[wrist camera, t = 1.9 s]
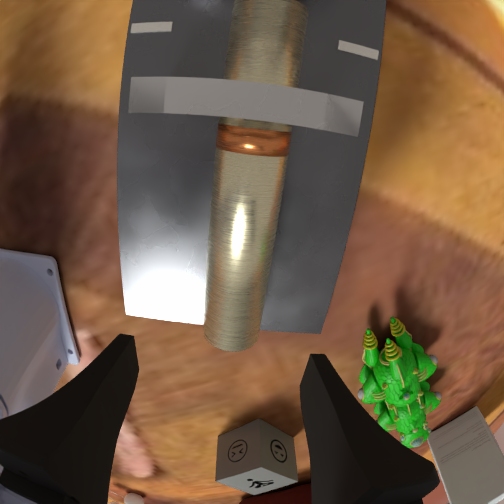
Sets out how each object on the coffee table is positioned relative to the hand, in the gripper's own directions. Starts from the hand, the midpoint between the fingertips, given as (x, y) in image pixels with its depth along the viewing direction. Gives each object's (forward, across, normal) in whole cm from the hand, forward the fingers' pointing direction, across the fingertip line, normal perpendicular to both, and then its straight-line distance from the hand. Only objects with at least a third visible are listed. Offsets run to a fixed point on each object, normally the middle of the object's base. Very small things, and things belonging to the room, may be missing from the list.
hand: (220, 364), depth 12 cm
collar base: (+7, 0, -8) cm, 11 cm away
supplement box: (+7, -29, +20) cm, 36 cm away
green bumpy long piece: (+7, -15, +9) cm, 19 cm away
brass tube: (+4, 0, -6) cm, 7 cm away
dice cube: (+7, -4, +17) cm, 19 cm away
